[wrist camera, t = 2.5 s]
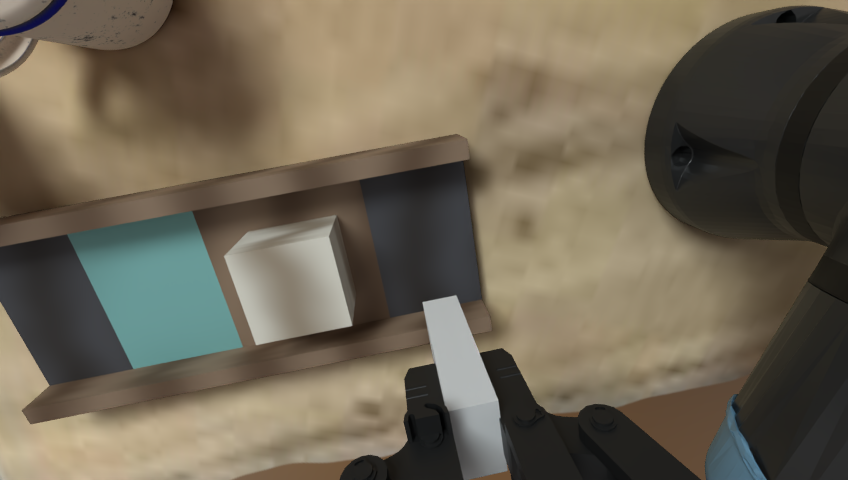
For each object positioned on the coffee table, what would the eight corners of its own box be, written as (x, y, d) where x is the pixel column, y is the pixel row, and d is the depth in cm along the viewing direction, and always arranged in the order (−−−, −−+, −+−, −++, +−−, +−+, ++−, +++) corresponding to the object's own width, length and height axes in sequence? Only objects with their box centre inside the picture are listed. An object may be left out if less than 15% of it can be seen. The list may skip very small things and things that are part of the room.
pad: (195, 200, 28) (189, 204, 27) (247, 339, 31) (243, 347, 30) (74, 223, 27) (63, 227, 26) (140, 360, 31) (133, 368, 30)
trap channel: (457, 133, 28) (467, 139, 25) (480, 307, 33) (492, 330, 29) (-28, 223, 27) (-86, 241, 23) (67, 389, 31) (30, 424, 28)
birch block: (336, 214, 28) (328, 236, 24) (356, 293, 30) (352, 325, 26) (247, 231, 28) (223, 256, 23) (273, 309, 30) (256, 345, 26)
